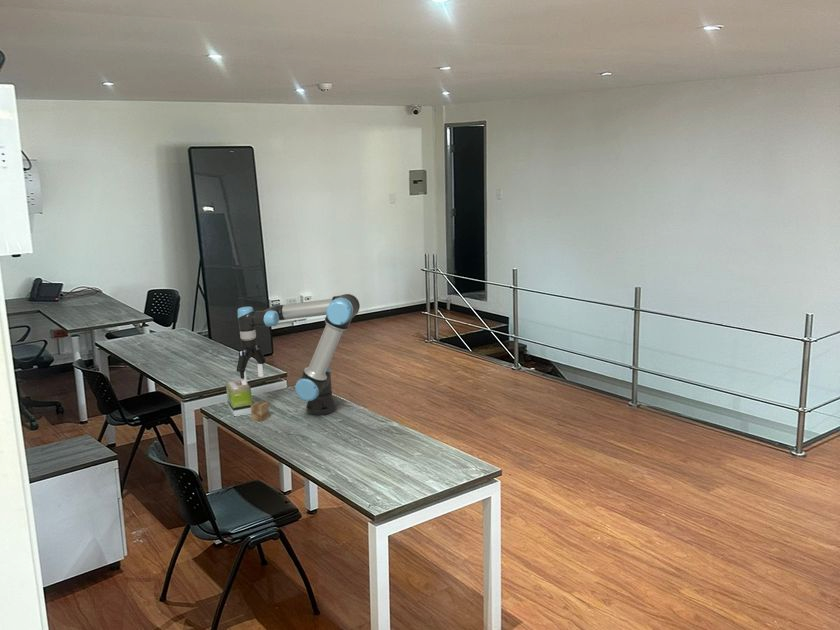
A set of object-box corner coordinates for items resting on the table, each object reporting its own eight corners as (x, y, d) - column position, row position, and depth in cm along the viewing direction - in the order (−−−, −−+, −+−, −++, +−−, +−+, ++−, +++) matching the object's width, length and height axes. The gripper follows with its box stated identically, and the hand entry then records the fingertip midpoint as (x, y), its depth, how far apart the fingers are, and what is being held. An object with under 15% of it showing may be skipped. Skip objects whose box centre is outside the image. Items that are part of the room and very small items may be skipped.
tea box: (228, 409, 391) (225, 382, 388) (247, 406, 395) (244, 379, 392) (233, 417, 378) (231, 389, 375) (253, 414, 382) (251, 386, 379)
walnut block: (269, 417, 375) (267, 402, 374) (262, 421, 370) (260, 406, 368) (259, 416, 378) (257, 401, 376) (252, 420, 372) (250, 405, 371)
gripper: (257, 332, 381) (261, 373, 385) (225, 344, 358) (230, 387, 362) (269, 333, 377) (274, 374, 382) (238, 345, 355) (243, 388, 359)
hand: (253, 380), depth 372 cm, fingers open, 13 cm apart
